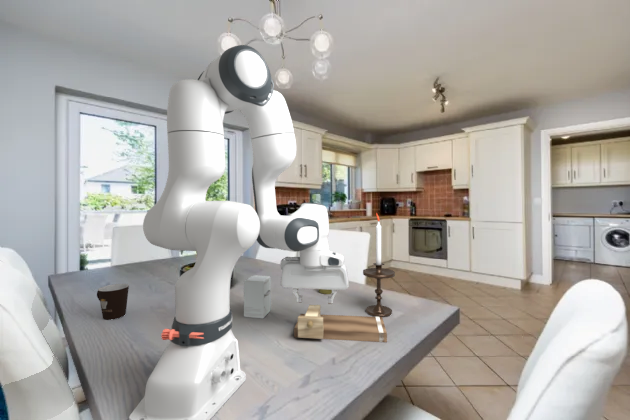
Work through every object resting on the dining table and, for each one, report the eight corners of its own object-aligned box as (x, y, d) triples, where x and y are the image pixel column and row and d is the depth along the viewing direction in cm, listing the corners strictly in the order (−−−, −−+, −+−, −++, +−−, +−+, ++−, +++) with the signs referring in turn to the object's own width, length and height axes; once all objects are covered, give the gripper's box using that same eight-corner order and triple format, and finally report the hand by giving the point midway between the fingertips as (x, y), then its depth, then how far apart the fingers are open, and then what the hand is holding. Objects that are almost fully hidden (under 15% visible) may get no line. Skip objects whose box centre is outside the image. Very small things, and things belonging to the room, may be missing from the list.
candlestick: (357, 312, 97) (356, 213, 97) (373, 304, 105) (373, 212, 105) (385, 321, 90) (384, 213, 89) (400, 311, 98) (400, 212, 97)
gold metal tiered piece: (335, 294, 117) (335, 270, 117) (318, 294, 117) (318, 271, 117) (334, 289, 125) (334, 266, 125) (318, 289, 125) (318, 267, 125)
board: (386, 342, 76) (386, 332, 76) (294, 337, 80) (294, 328, 80) (382, 325, 87) (382, 316, 87) (300, 321, 91) (300, 313, 90)
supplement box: (263, 319, 93) (263, 281, 92) (243, 317, 94) (242, 280, 94) (271, 310, 100) (271, 275, 100) (252, 309, 101) (252, 274, 101)
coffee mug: (132, 315, 96) (132, 287, 96) (101, 323, 90) (100, 293, 89) (123, 307, 104) (123, 280, 104) (94, 314, 98) (94, 285, 97)
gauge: (322, 340, 76) (322, 320, 75) (297, 339, 76) (297, 319, 76) (326, 322, 87) (326, 305, 87) (304, 321, 88) (303, 304, 88)
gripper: (277, 259, 81) (278, 305, 81) (348, 260, 78) (348, 308, 79) (282, 254, 87) (283, 297, 88) (348, 255, 84) (348, 300, 85)
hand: (315, 302), depth 83 cm, fingers open, 8 cm apart
